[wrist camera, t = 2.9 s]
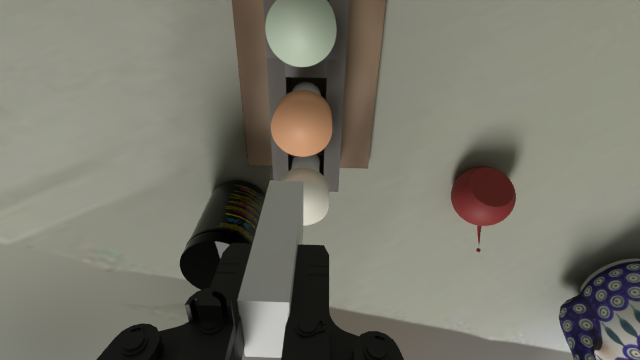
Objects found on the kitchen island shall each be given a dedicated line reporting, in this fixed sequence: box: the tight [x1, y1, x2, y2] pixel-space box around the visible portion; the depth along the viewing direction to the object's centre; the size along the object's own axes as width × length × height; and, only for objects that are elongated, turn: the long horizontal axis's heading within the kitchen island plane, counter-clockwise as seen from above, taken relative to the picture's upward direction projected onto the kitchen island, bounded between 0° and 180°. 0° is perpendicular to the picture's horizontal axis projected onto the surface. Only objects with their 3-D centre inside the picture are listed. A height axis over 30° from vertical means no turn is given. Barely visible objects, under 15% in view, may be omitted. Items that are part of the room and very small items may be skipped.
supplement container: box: [180, 180, 265, 290], centre depth 36 cm, size 7×7×10 cm
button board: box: [232, 0, 386, 192], centre depth 31 cm, size 12×18×6 cm
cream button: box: [280, 154, 329, 225], centre depth 29 cm, size 4×4×6 cm
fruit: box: [451, 167, 516, 252], centre depth 37 cm, size 6×6×8 cm
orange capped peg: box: [271, 82, 332, 157], centre depth 26 cm, size 4×4×6 cm
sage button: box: [265, 0, 337, 67], centre depth 23 cm, size 4×4×6 cm
